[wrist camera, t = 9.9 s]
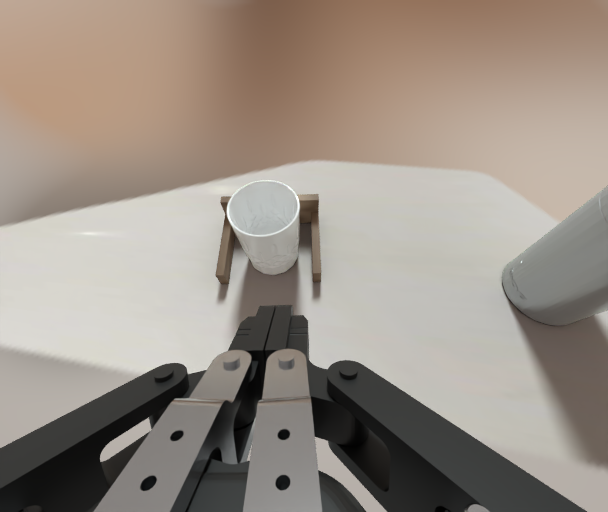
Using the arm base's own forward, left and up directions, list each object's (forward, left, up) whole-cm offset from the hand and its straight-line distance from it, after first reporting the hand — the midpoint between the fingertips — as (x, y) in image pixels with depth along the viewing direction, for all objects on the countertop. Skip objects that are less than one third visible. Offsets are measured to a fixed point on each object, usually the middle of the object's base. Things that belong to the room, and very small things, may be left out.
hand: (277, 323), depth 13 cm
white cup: (+3, -16, -21) cm, 26 cm away
